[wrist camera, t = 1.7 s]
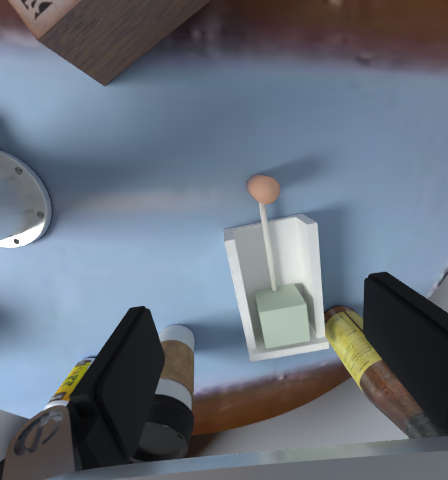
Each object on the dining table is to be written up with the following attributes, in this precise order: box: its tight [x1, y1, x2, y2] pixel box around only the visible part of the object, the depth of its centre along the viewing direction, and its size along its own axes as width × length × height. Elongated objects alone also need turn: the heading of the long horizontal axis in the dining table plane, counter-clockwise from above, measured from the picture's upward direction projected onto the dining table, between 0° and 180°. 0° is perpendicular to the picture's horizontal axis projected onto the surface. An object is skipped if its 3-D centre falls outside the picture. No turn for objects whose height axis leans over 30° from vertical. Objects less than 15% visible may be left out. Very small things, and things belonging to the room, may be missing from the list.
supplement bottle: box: [44, 358, 95, 410], centre depth 34 cm, size 6×6×10 cm
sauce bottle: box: [324, 306, 448, 439], centre depth 27 cm, size 7×6×20 cm
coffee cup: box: [130, 325, 195, 463], centre depth 30 cm, size 8×8×15 cm
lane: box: [224, 214, 329, 362], centre depth 30 cm, size 18×11×6 cm, turn 12°
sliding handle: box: [247, 174, 310, 349], centre depth 29 cm, size 22×6×6 cm, turn 12°
